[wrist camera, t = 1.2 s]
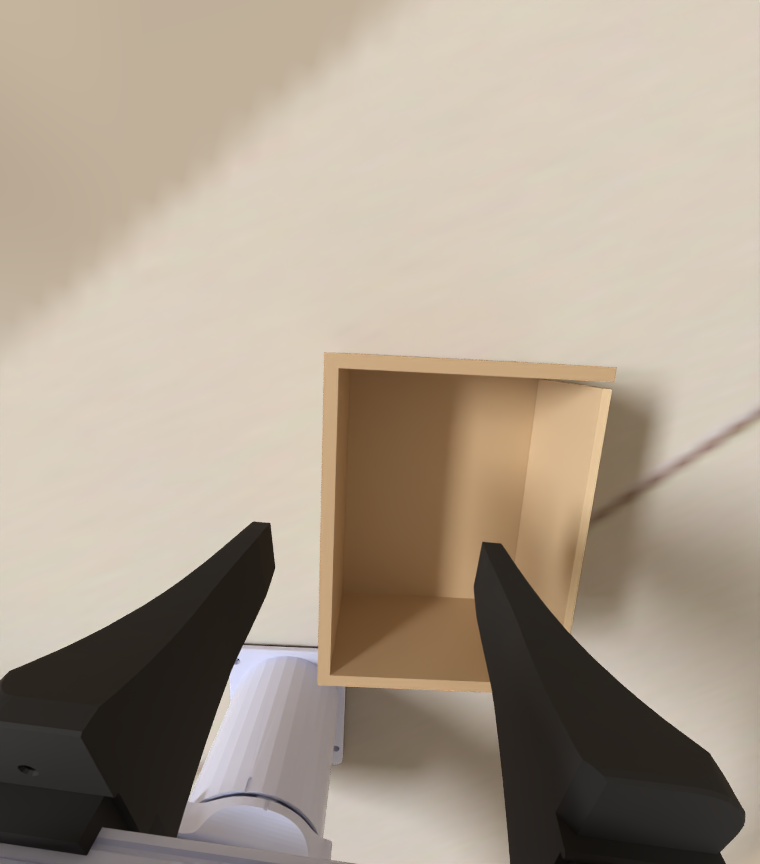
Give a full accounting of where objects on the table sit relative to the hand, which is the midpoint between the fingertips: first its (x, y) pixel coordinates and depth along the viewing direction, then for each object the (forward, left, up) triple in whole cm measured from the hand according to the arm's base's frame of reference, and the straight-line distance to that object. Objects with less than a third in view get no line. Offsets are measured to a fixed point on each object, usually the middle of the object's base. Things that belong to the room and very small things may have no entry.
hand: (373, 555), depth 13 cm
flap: (-1, -10, -11) cm, 14 cm away
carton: (-1, -4, -11) cm, 12 cm away
